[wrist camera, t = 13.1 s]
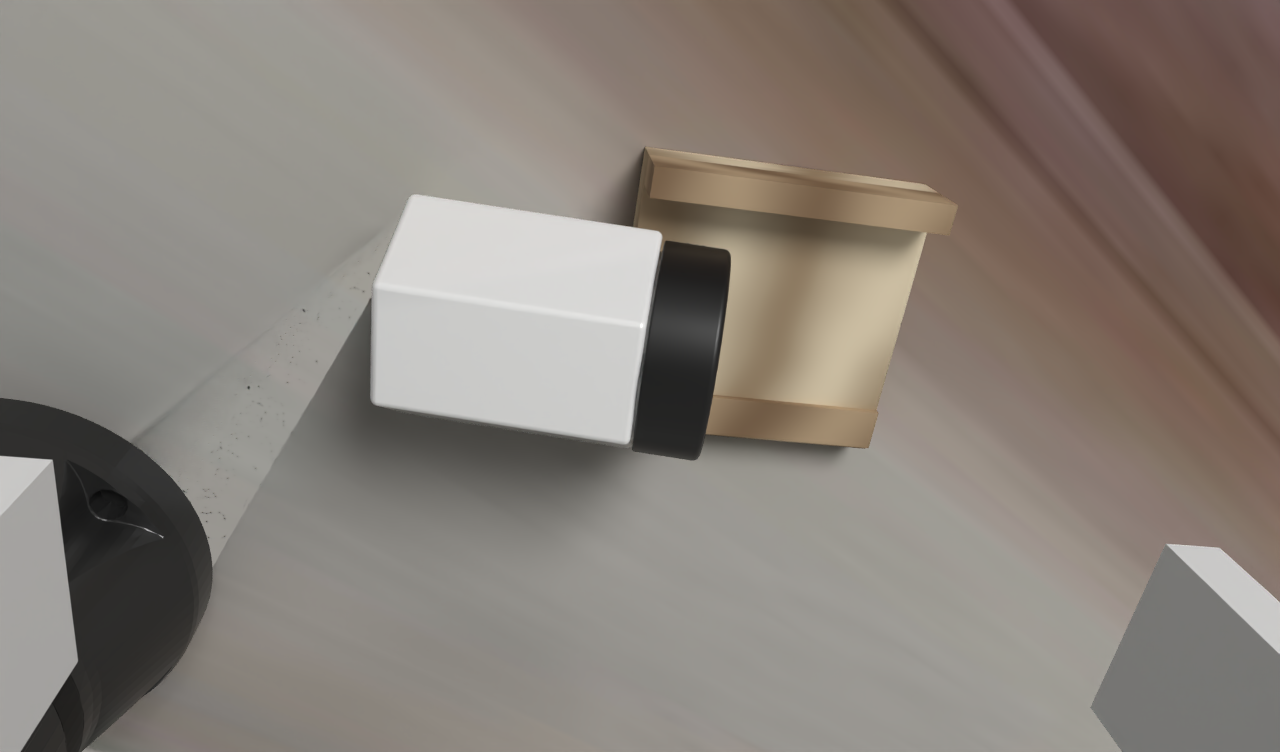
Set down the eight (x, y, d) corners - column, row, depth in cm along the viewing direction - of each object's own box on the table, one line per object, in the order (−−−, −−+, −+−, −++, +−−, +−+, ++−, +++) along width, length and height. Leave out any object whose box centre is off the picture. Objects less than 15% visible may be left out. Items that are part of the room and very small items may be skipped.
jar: (430, 371, 41) (698, 413, 41) (365, 460, 34) (692, 512, 33) (439, 170, 37) (733, 215, 37) (368, 220, 30) (735, 276, 30)
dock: (605, 410, 42) (610, 448, 39) (644, 146, 38) (654, 165, 34) (855, 433, 44) (879, 471, 41) (924, 184, 39) (958, 205, 36)
